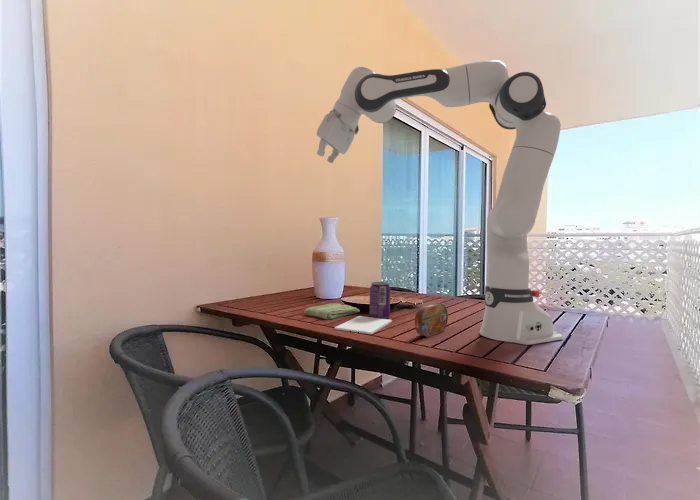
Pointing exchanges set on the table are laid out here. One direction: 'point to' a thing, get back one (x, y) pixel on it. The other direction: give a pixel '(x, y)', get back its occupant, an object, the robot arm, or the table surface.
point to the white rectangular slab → (363, 325)
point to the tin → (431, 320)
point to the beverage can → (380, 300)
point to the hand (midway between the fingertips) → (324, 158)
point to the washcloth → (331, 311)
